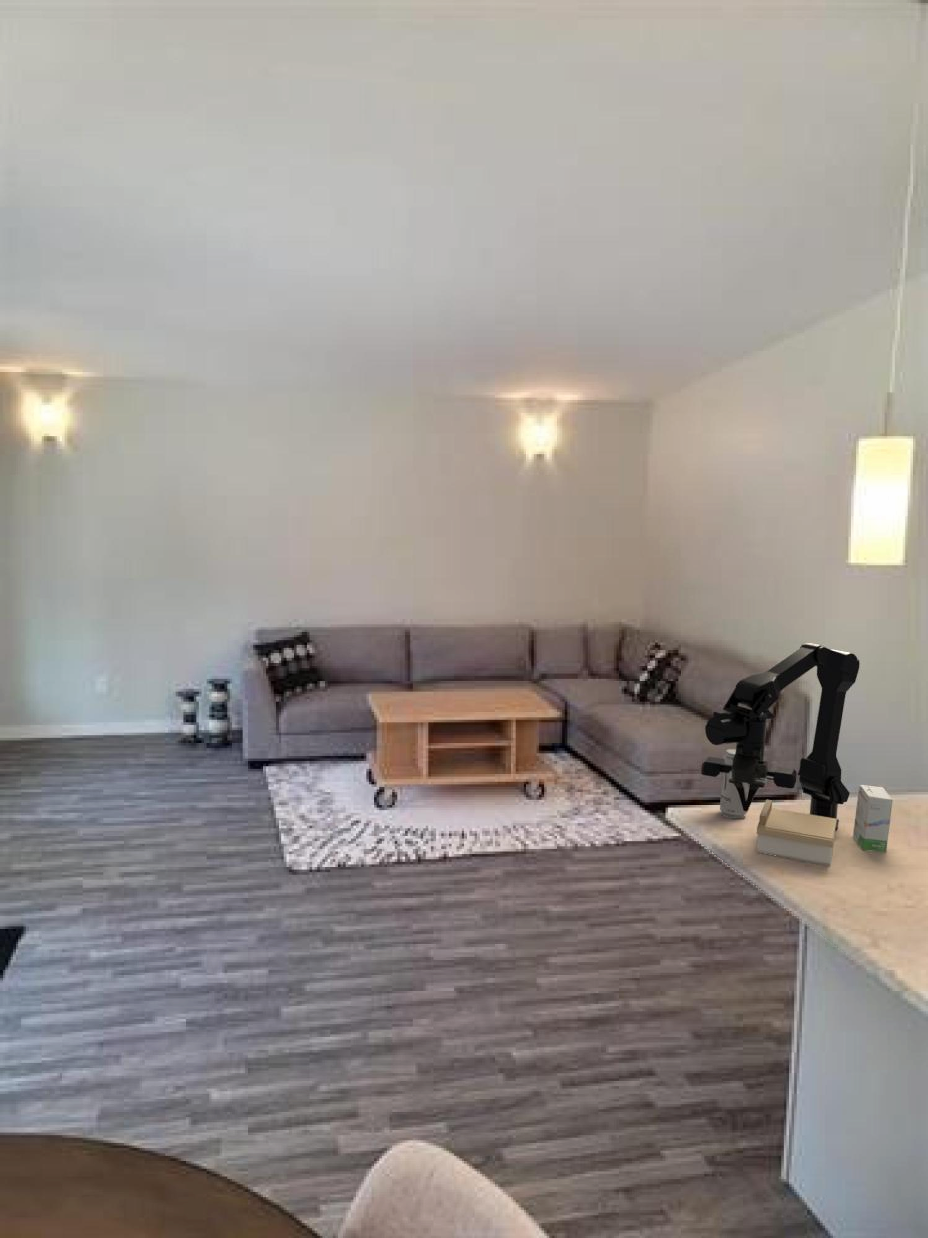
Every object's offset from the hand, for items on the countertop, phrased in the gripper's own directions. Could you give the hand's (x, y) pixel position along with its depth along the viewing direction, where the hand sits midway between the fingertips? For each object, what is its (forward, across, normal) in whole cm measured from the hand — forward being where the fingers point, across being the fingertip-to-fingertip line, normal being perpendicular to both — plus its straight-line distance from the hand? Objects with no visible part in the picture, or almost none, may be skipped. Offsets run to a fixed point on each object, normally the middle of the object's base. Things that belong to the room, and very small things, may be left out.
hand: (745, 811), depth 187 cm
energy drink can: (+7, -5, +15) cm, 17 cm away
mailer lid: (+2, +10, 0) cm, 11 cm away
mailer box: (+6, +10, 0) cm, 12 cm away
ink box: (+7, +24, +11) cm, 28 cm away
